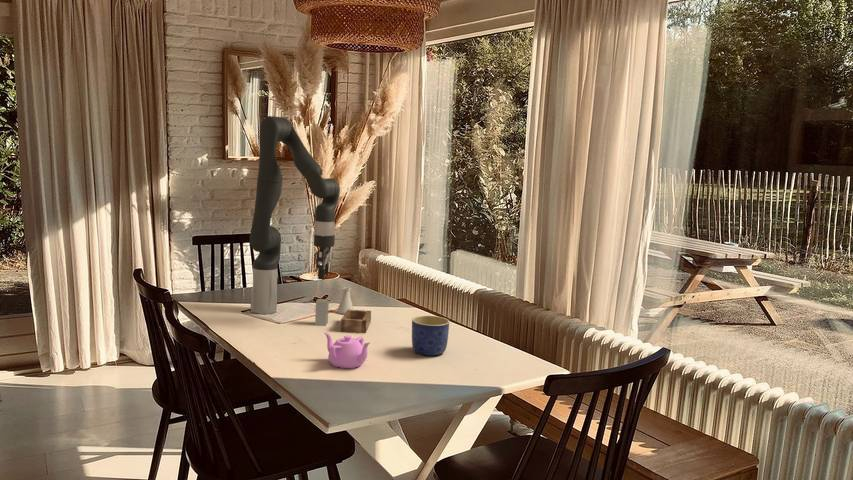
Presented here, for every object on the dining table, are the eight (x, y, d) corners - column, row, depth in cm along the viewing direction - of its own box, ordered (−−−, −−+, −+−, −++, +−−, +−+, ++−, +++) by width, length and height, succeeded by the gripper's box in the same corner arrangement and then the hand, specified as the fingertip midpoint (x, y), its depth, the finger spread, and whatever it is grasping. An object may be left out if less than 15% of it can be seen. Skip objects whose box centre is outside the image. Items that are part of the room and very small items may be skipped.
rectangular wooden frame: (340, 331, 252) (341, 319, 251) (347, 320, 267) (347, 309, 266) (365, 333, 252) (366, 321, 251) (370, 322, 267) (371, 310, 266)
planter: (420, 359, 225) (422, 326, 224) (404, 348, 236) (405, 316, 235) (454, 355, 231) (456, 323, 230) (436, 345, 242) (438, 314, 240)
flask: (356, 311, 283) (357, 286, 281) (352, 315, 276) (353, 290, 274) (338, 309, 283) (339, 285, 282) (334, 314, 276) (335, 289, 275)
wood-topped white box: (315, 325, 259) (315, 301, 258) (317, 322, 263) (318, 298, 262) (325, 325, 259) (326, 302, 258) (327, 323, 263) (328, 299, 261)
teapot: (369, 370, 213) (370, 342, 212) (323, 370, 211) (324, 341, 209) (366, 357, 224) (368, 330, 223) (323, 357, 222) (323, 330, 221)
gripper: (318, 230, 263) (316, 272, 266) (310, 235, 249) (309, 280, 251) (338, 231, 263) (336, 273, 265) (331, 236, 249) (329, 281, 251)
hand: (323, 277), depth 258 cm, fingers open, 8 cm apart
